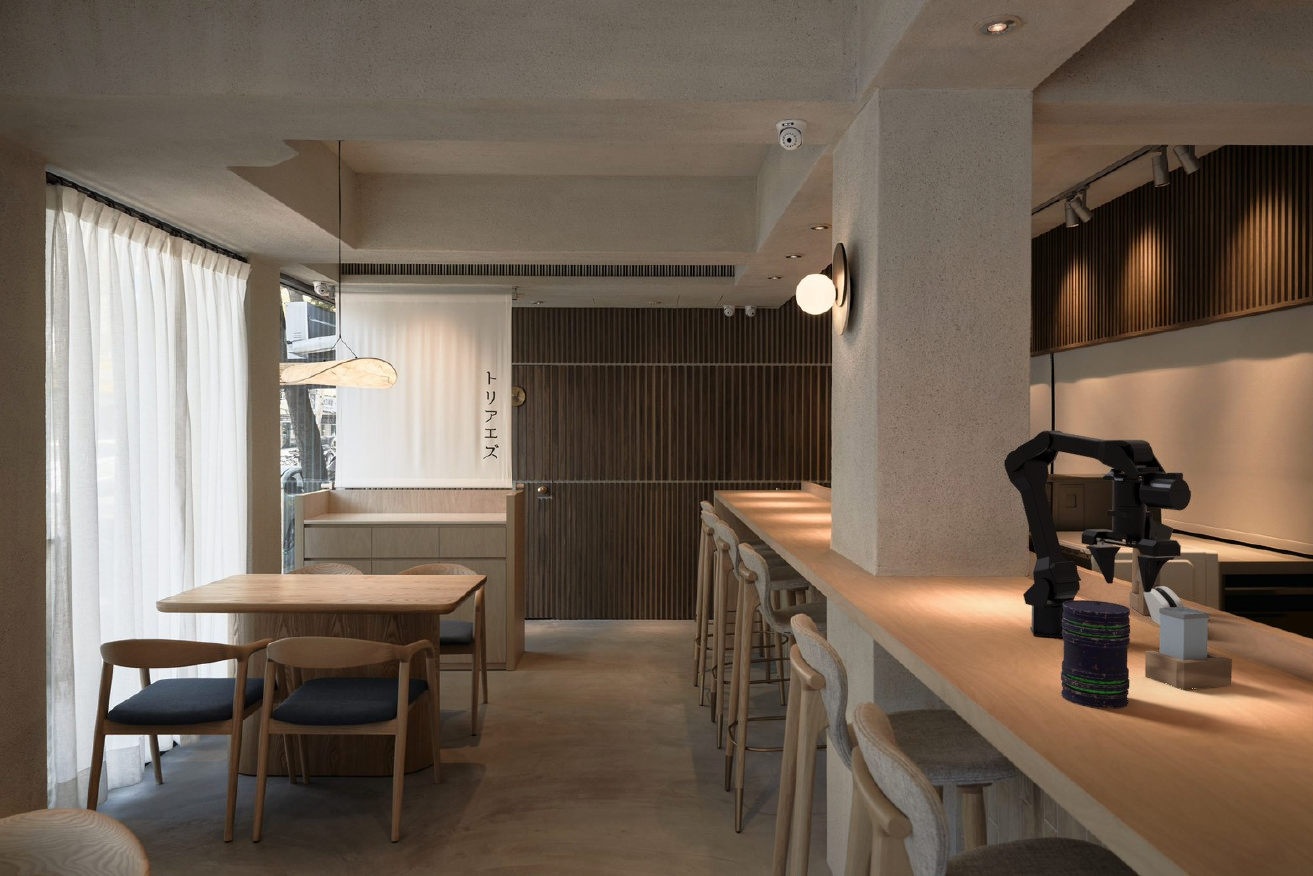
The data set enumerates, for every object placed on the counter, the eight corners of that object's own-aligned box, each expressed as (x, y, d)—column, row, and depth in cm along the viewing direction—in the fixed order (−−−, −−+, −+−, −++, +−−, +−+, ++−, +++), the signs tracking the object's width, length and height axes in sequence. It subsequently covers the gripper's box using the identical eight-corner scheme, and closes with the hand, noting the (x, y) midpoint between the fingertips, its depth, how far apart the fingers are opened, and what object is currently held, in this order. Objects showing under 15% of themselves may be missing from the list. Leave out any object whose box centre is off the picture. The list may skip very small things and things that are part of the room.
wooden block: (1142, 615, 204) (1144, 537, 204) (1129, 606, 214) (1130, 532, 214) (1160, 616, 203) (1161, 538, 203) (1145, 607, 213) (1146, 532, 213)
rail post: (1158, 676, 155) (1159, 608, 154) (1182, 674, 156) (1183, 606, 156) (1182, 685, 150) (1184, 614, 149) (1207, 683, 151) (1209, 613, 151)
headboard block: (1145, 676, 154) (1145, 651, 154) (1191, 672, 157) (1191, 647, 157) (1183, 690, 147) (1184, 663, 147) (1231, 685, 149) (1231, 659, 149)
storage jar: (1126, 713, 135) (1128, 615, 135) (1056, 702, 140) (1057, 608, 140) (1131, 696, 143) (1132, 604, 143) (1065, 686, 149) (1066, 597, 148)
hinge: (1203, 638, 182) (1185, 592, 183) (1178, 644, 183) (1161, 598, 184) (1176, 621, 199) (1160, 578, 199) (1154, 626, 200) (1138, 584, 200)
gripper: (1205, 509, 161) (1204, 595, 161) (1126, 500, 179) (1125, 577, 179) (1155, 510, 158) (1154, 598, 158) (1080, 501, 176) (1078, 580, 176)
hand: (1128, 587), depth 168 cm, fingers open, 9 cm apart
